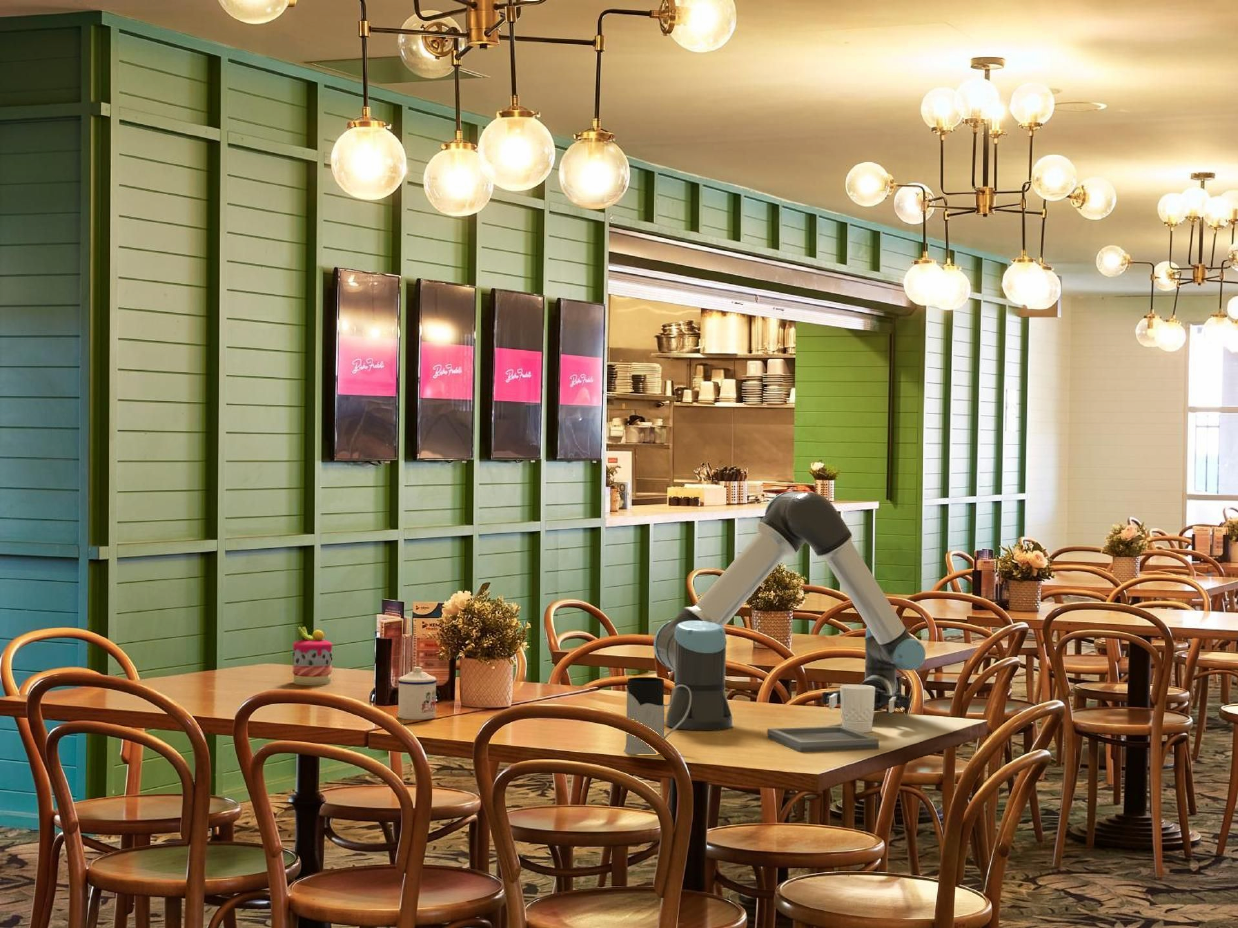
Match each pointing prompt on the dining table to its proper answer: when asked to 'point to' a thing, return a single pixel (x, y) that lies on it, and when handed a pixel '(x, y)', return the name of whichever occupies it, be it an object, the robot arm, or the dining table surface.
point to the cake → (312, 659)
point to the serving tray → (822, 738)
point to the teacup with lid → (417, 695)
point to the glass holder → (648, 710)
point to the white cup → (857, 707)
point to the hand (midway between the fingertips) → (860, 704)
